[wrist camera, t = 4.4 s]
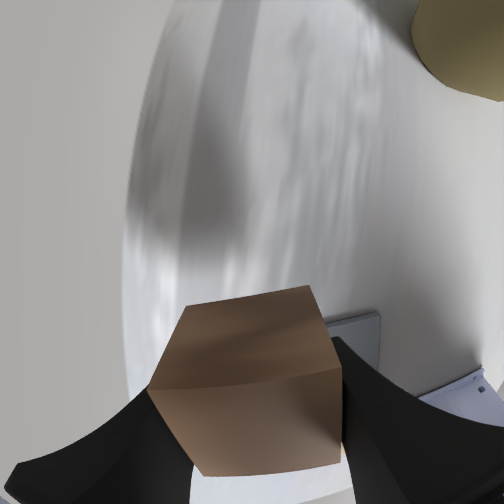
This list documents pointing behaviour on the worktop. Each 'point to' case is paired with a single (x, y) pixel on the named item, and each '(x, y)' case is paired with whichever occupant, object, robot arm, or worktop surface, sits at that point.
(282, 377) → the walnut block
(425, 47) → the squeeze bottle
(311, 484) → the worktop surface
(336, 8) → the worktop surface
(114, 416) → the robot arm
